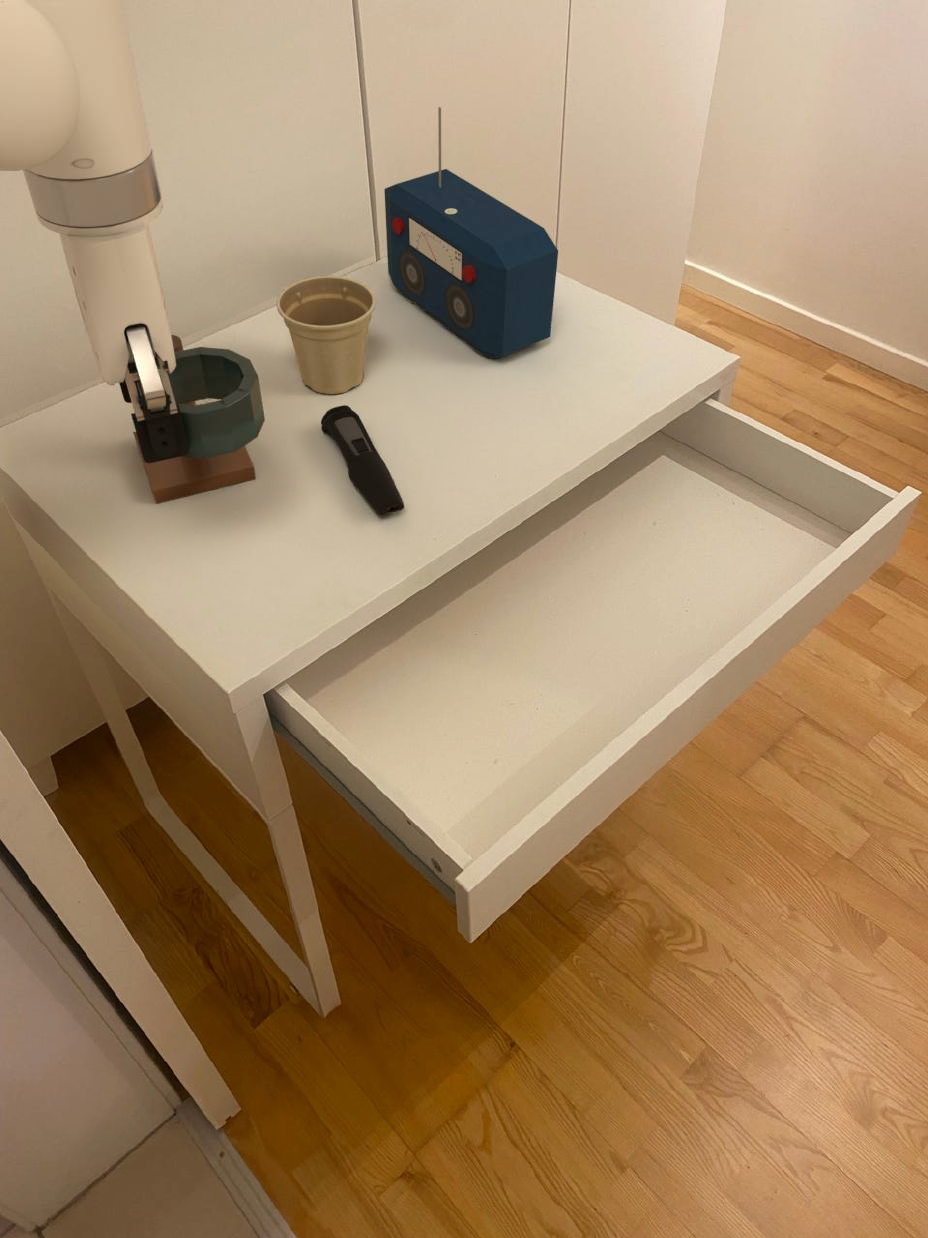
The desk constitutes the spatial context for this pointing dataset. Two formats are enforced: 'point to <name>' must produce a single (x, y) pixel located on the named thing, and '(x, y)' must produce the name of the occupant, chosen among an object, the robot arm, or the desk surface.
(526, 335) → the radio
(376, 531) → the desk surface
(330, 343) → the flower pot
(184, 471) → the stand
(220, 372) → the ring
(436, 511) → the desk surface
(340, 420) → the electric trimmer
